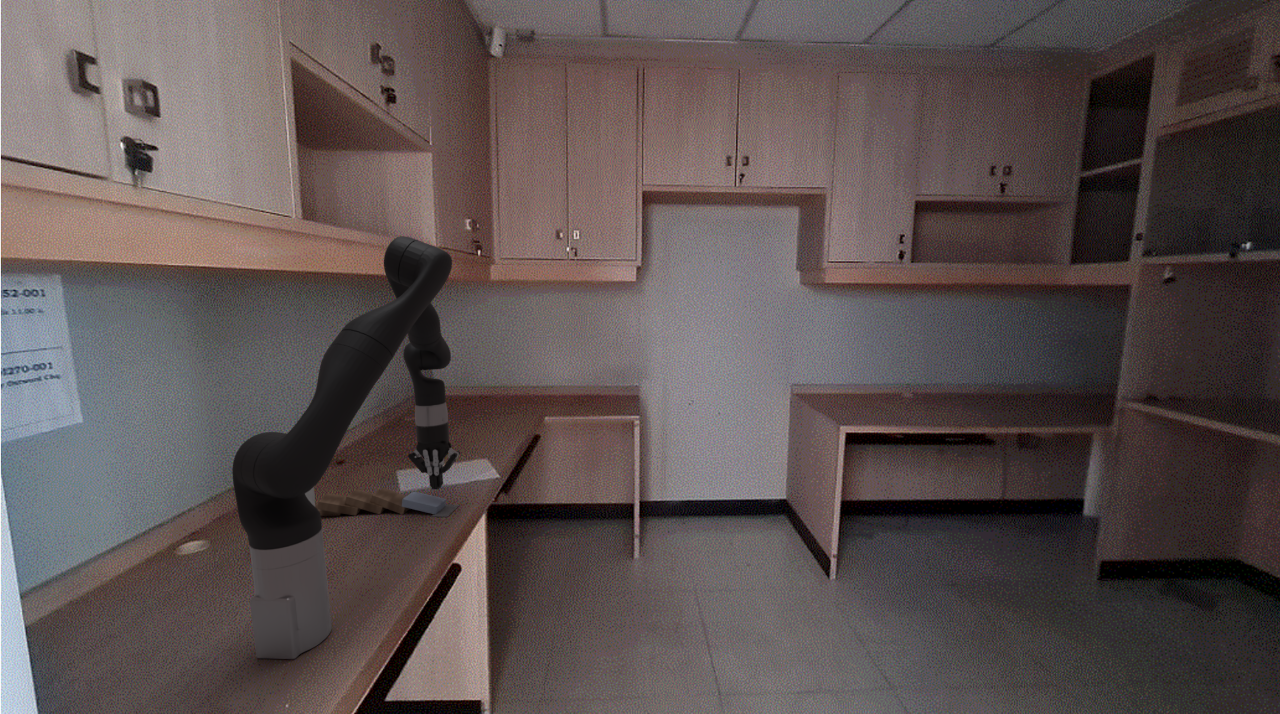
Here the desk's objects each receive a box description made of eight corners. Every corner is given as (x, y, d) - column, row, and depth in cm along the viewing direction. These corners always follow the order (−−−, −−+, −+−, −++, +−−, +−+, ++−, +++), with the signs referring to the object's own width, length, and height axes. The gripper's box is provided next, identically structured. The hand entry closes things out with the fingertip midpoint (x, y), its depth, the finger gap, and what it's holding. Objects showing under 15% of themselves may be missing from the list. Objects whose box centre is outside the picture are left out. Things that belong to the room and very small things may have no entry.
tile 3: (382, 507, 125) (346, 496, 124) (379, 514, 125) (344, 503, 125) (390, 499, 130) (356, 488, 129) (388, 506, 130) (354, 495, 129)
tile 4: (357, 508, 125) (318, 501, 123) (355, 515, 125) (316, 509, 123) (364, 499, 129) (327, 493, 127) (363, 506, 130) (325, 500, 128)
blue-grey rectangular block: (436, 507, 124) (402, 499, 125) (435, 514, 124) (401, 506, 125) (446, 499, 129) (413, 491, 129) (445, 506, 129) (412, 498, 130)
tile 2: (404, 507, 125) (371, 494, 125) (402, 514, 125) (369, 502, 125) (415, 499, 130) (383, 487, 130) (413, 506, 130) (381, 494, 130)
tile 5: (339, 510, 125) (303, 510, 125) (339, 517, 125) (303, 518, 125) (350, 502, 130) (315, 502, 130) (351, 509, 130) (316, 510, 130)
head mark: (447, 517, 123) (447, 516, 123) (431, 516, 123) (431, 516, 123) (459, 505, 130) (459, 504, 130) (444, 505, 130) (444, 504, 130)
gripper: (464, 417, 127) (468, 483, 129) (414, 417, 128) (418, 482, 130) (451, 425, 120) (455, 494, 122) (398, 425, 121) (403, 494, 123)
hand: (436, 488), depth 126 cm, fingers closed
